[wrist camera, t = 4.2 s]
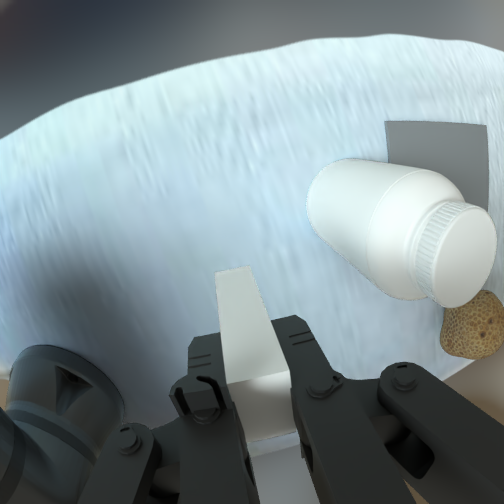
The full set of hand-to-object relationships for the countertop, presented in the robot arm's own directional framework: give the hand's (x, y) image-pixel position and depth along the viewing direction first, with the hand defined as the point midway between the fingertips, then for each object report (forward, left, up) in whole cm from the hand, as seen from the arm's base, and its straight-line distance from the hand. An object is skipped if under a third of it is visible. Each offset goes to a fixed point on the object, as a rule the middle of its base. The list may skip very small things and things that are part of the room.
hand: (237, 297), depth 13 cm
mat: (+24, 0, -13) cm, 27 cm away
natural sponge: (+27, -16, -13) cm, 34 cm away
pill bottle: (+11, 0, -13) cm, 17 cm away
